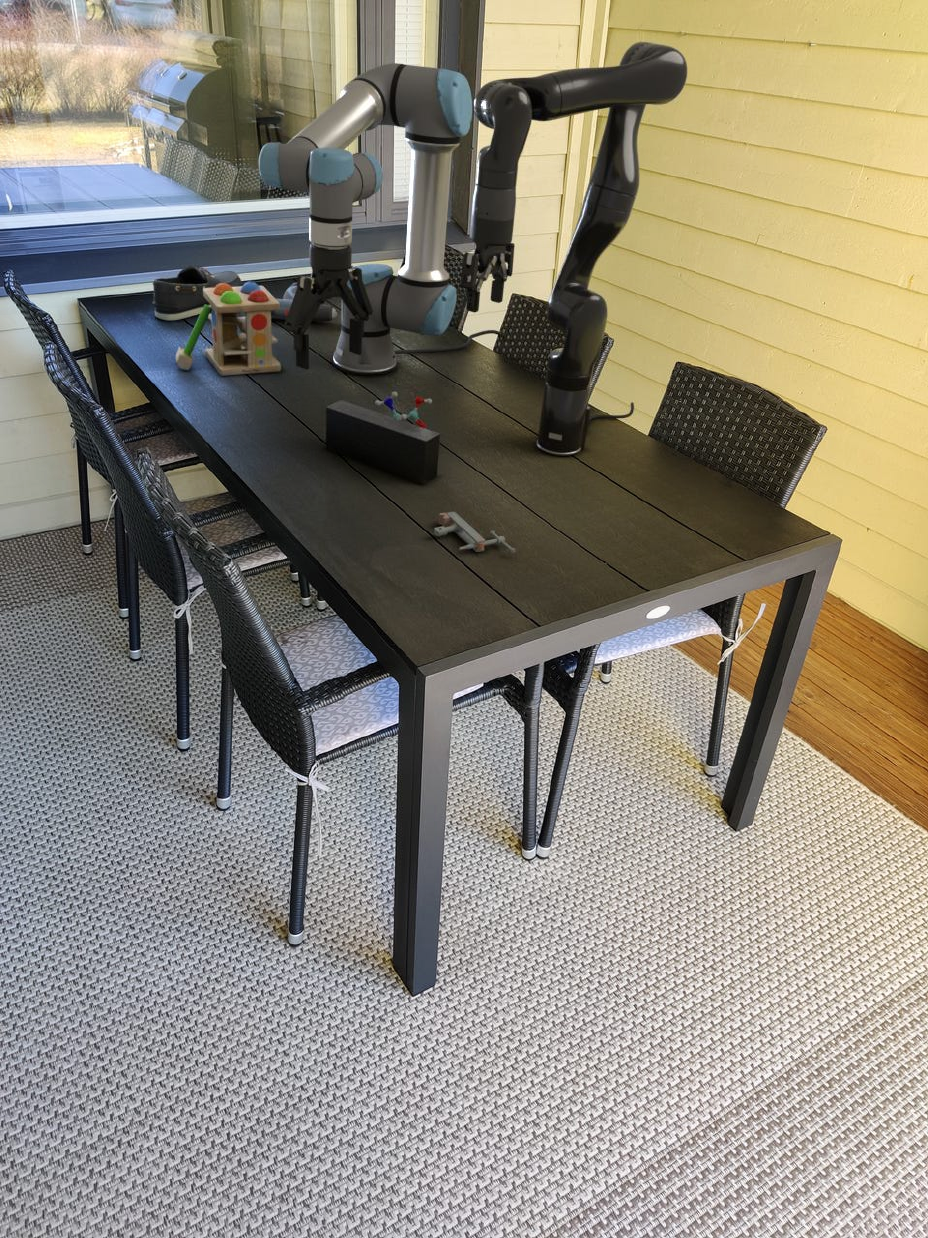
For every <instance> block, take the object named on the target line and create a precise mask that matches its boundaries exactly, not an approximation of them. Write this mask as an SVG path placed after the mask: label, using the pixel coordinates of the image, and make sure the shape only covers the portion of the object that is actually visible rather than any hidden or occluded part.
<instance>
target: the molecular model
mask: <svg viewBox="0 0 928 1238" xmlns="http://www.w3.org/2000/svg"><path fill="white" fill-rule="evenodd" d="M397 397H398V392H397V391H392V392H391V395H390V397H387V398H385V400H381V401H380V400H378V399H377V400H374V405H375V407H380V406H381V405H386V406H387V407H389V408H390V410H391V412H392V414H393V415H392V417H393V418H395V419H398V420H401V421H405V420H407V419H410V420H413V421H414V422H415V423H416V426H419V427H422V428H425V429H427V425H426V424H425V423H424V422H422V420H421V419H420V417H419V413H418V409H419V405H421V404H422V403H425V404H427V405H432V403H433V400H432V399H431V398H426V399H423V398H422V397H421V396H416V397H415V399H414V402H415V405H414V409H413V410H411V411H410V412H409V414H405V413H403V414H400V413H398V412H396V409H395V408H394V406H393V404H394V399H395V398H397Z"/></svg>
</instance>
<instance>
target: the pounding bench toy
mask: <svg viewBox="0 0 928 1238" xmlns="http://www.w3.org/2000/svg"><path fill="white" fill-rule="evenodd" d="M203 296H204V297H205V299H206V300H207V301H208V302H209V304H210V305H211V307H210V306H208V305H204V307H203V309H202V311H201V313H200V314H199V316H198V318H197V320H196V322H195V324H194V327H193V329H192V331H191V332H190V333H191V334H190V336H189V338H188V340H187V343H186V344H185V347H184V348H182V347H180V346H179V347H178V349H177V351H176V354H175V357H174V358H175V362H176V365H177V366H178V368H179V369H182V370H185V371H189V370H190V369H191V367H192V365H193V363H194V356H193V351H194V348H195V347H196V345H197V342H198V340H199V337H200V336H201V333H202V332H203V329H204V326H205V325H206V322H207V320H209V321H210V322H211V336H212V337H211V338H212V339H211V340H212V348H205V349H204V352H205V353H204V355H205V357H206V359H208V361H209V363H210V364H211V365H212V366H213V367H214V369H215V370H216V371H217V372H218V374H219V375H220V376H222V377H223V376H234V375H235V376H236V375H246V374H247V375H250V374H262V373H275V372H281V370H282V364H281V363H280V362H279V360H278V359H277V358H276V357H275V356H274V355H273V348H272V347H273V345H272V344H276V343H278V342H279V341H278V339H277V338H276V337H275V336H274V334H272V318H271V310H280V303H279V302H278V301H277V300H276V299H277V298H276V297H274V296H273V295H272V294H271V293H270V292H269V290H268V289H267V288H266V287H264V285H259V284H257V283H256V282H255V281H247V282H245V283H244V284H242V287H231V286H230V285H228V284H226V283H221V284H218V285H217V286H216V287H215V288H204V289H203ZM238 313H244V314H245V315H244V316H238ZM238 329H239V331H240V333H239V334H238Z"/></svg>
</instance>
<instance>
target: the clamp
mask: <svg viewBox="0 0 928 1238" xmlns="http://www.w3.org/2000/svg"><path fill="white" fill-rule="evenodd" d="M438 525H441V526H438V527H434V528H433V534H434V535H435V536H436V537H443V536H447V535H448V533H453V532H454V533H455V534H457V536H458V537H460V539H462V540H463V541H464V542H465V543H466V545H464V546H460V547H459V548H458V549H459V551H465V550H471V549H472V550H474V552H476V553H482V552H484V551H485V546H490V545H495V544H496V545H503V546H504V547H505V548H507V549H508V550H509V551H510V554H511V555H512V554H515V553H516V548H515V547H512V546H510V545H509V543H507V542H506V538H505V536H504V535H500V536H499V535H498V534H496V532H495V530H491V531H490V532H489V536H492V537H494V538H493V539H488V540H486V539H485V537H483V536H482V535H481V534H480V533H478V532H477V531H476V530H475V529H474V528H473V527H472V526H471V525H470V524H468V522H466V521H465V520H464V519H463V518H462V517H461V516H460V515H459V514H458V513H457V512H455V511H449V512H440V513H439V514H438Z"/></svg>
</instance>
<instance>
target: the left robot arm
mask: <svg viewBox="0 0 928 1238" xmlns="http://www.w3.org/2000/svg"><path fill="white" fill-rule="evenodd" d="M472 117H473V99H472V92H471V88H470V85H469V82H468V80H467V78H466V77H465V75H463V74H462V73H461V72H458V71H454V70H450V69H446V68H442V67H441V68H439V67H430V66H420V65H413V64H412V65H411V64H404V63H399V62H398V63H397V62H395V63H394V62H393V63H386V64H382V65H379V66H375V67H373V68H370V69H368V70H366V71H364V72H362V73H361V74H359V75H357V76H356V77H354V78H353V79H352V80H350V81H349V82H348V83H346V84H345V85H344V87H343V88H342V90H341V92H340V95H339V98H338V99H336V100H335V101H334V102H333V103H332V104H330V105H329V106H328V107H327V108H326V109H325V110H324V111H322V112H321V113H320V114H319V115H318V116H317V117H315V119H313V120H312V121H311V122H309V124H308V125H306V126H305V127H304V128H303V129H301V130H300V131H298V133H297V134H295V136H293V137H292V138H291V139H290V140H289V141H288V142H287V143H281V142H280V141H278V142H267V143H265V144H264V145H263V146H262V148H261V150H260V153H259V156H258V169H259V176H260V178H261V180H262V182H263V183H264V184H265V185H267V186H269V187H274V188H277V189H280V190H288V191H295V192H302V193H308V194H309V225H308V226H309V229H308V231H309V233H308V234H309V239H308V240H309V242H311V244H310V245H309V265H310V268H311V275H310V276H304V275H302V274H300V275H298V277H297V281H296V283H297V289H296V292H295V295H294V298H293V301H292V304H291V307H290V310H289V313H288V316H287V319H286V320H285V322H284V325H283V328H284V330H286V331H288V332H289V333H292V335H293V350H294V351H295V366H296V367H298V368H301V369H303V370H310V334H309V333H307V330H308V328H309V327H310V325H311V323H312V322H313V321H312V320H313V318H314V316H315V314H316V312H317V311H318V309H319V307H320V305H321V304H324V303H325V302H326V301H327V300H331V299H333V298H340V299H341V313H340V314H341V316H340V317H341V319H340V321H341V324H340V325H341V326H340V329H341V330H340V336H339V338H338V341H337V344H336V348H335V350H334V352H333V361H332V362H333V363H332V364H333V366H334V367H335V368H337V369H338V370H339V371H342V372H344V373H347V374H352V375H356V376H380V375H381V376H382V375H386V374H389V373H391V372H393V371H395V369H396V368H397V355H408V354H429V353H431V354H432V353H442V352H451V351H456V350H457V351H458V350H461V349H465V348H468V347H469V346H470V345H471V344H472V339H474V338H478V337H480V336H484V335H488V334H489V335H490V334H492V335H493V334H494V335H497V336H499V337H500V333H502V332H501V331H499V330H496V329H488V330H487V329H486V330H482V331H479V332H476V333H472V334H470V335H469V336H468V337H467V341H466V342H465V343H462V344H459V345H454V346H446V347H437V348H435V347H434V348H417V349H397V350H395V347H394V343H393V341H392V337H391V336H392V335H391V329H394V330H399V331H404V332H410V333H415V334H419V335H420V336H425V335H426V336H430V337H431V336H432V337H438V336H441V335H443V334H444V332H446V330H447V328H448V327H449V325H450V323H451V320H452V318H453V315H454V312H455V308H456V304H457V296H458V295H457V289H456V287H455V286H454V285H452V284H450V274H449V273H448V272H447V270H446V269H445V267H444V262H445V261H444V260H445V250H446V249H445V247H446V235H447V224H448V223H447V222H448V210H449V209H448V208H449V197H450V196H449V195H450V181H451V168H452V156H453V155H452V154H453V152H454V150H455V149H457V148H458V146H460V143H461V138H462V137H465V136H466V135H467V134H468V133H469V131H470V128H471V122H472ZM378 126H393V127H397V128H403V129H405V131H404V134H405V135H404V140H405V141H406V142H407V144H408V145H409V146H410V148H411V155H410V157H411V158H410V170H409V173H410V174H409V189H408V190H409V191H408V209H407V227H406V246H405V264H404V265H403V266H402V267H400V268H399V269H398V271H397V275H394V273H395V272H394V269H393V267H392V266H391V265H388V264H383V263H382V264H381V263H368V264H367V263H366V264H358V265H355V266H353V265H352V258H353V257H352V256H353V255H352V254H353V251H352V247H351V244H352V241H353V208H354V207H353V206H354V203H357V202H360V201H362V200H367V199H369V198H371V197H372V196H373V195H375V194H376V193H378V191H379V190H380V189H381V187H382V186H383V185H382V184H383V181H384V172H383V167H382V165H381V164H380V162H379V160H378V159H377V158H376V157H375V156H374V155H372V154H370V153H368V152H355V153H351V151H349V150H347V148H348V147H349V146H350V145H351V144H352V143H353V142H354V141H355V140H357V138H359V136H361V135H362V134H363V133H364V132H366V131H367V132H368V131H371V130H373V129H376V128H378ZM500 338H504V337H503V336H502V335H501V337H500Z"/></svg>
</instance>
